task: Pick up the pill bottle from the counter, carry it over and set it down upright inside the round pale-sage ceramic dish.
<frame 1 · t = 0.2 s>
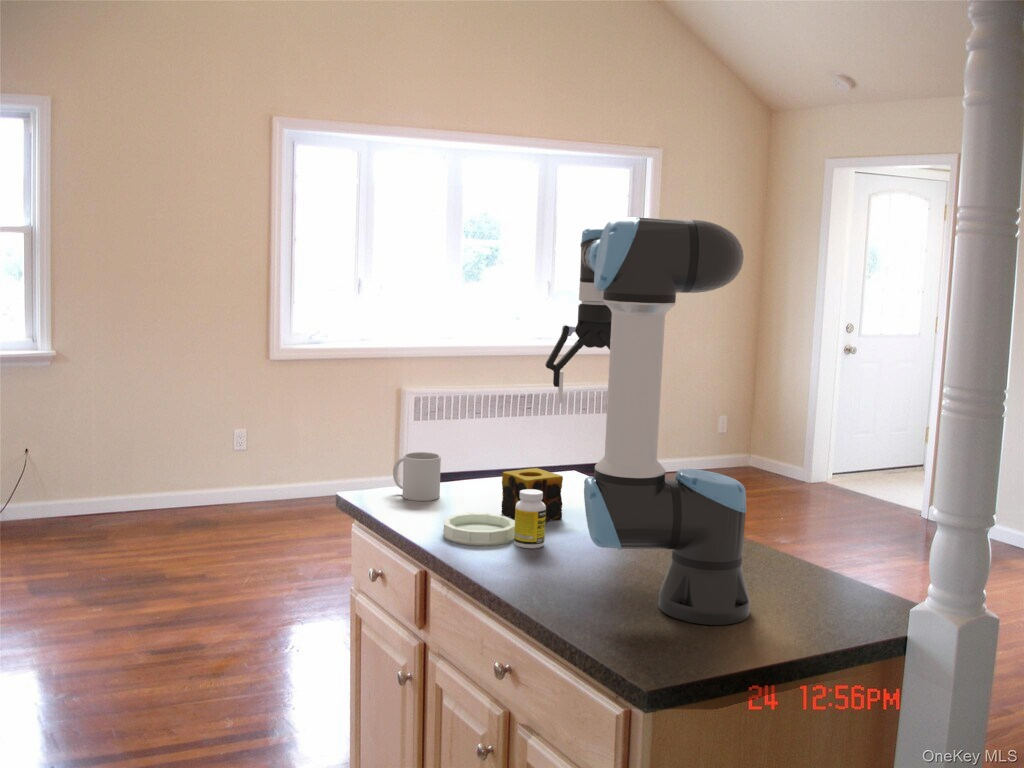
hand: (591, 403, 214), 27 cm above the worktop, fingers open, 13 cm apart
sage dish: (479, 535, 209), on the worktop
mug: (418, 496, 241), on the worktop
pill bottle: (529, 545, 204), on the worktop
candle: (531, 518, 226), on the worktop
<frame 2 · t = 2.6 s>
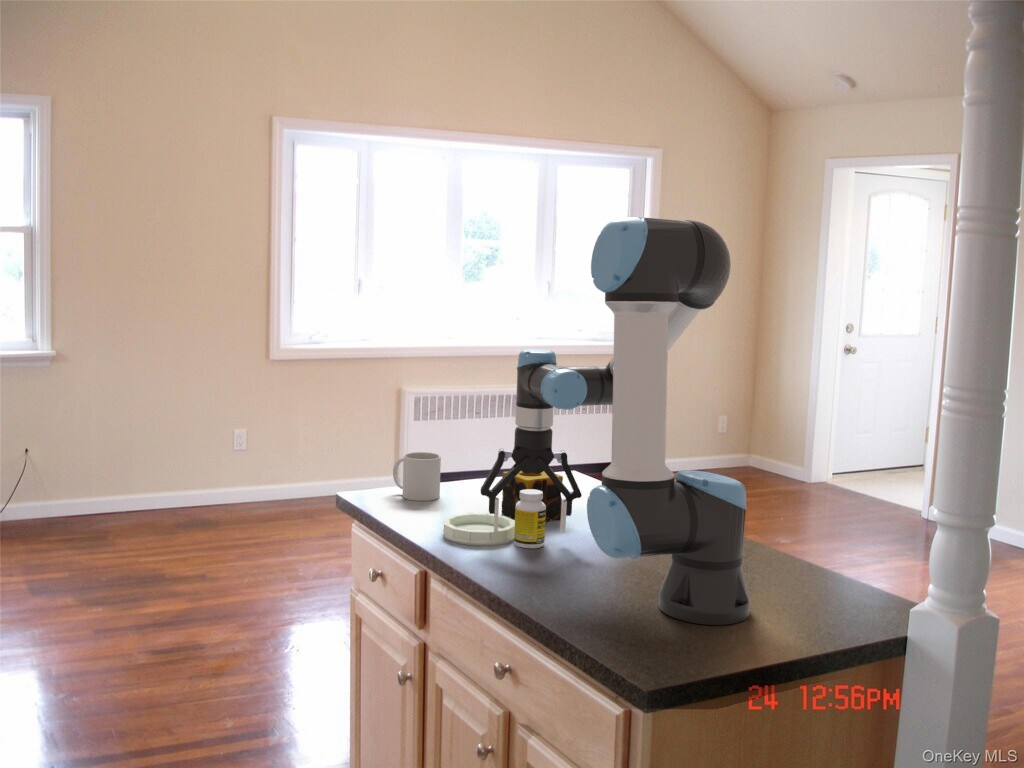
hand: (529, 530, 204), 3 cm above the worktop, fingers open, 13 cm apart
nothing on the worktop moved.
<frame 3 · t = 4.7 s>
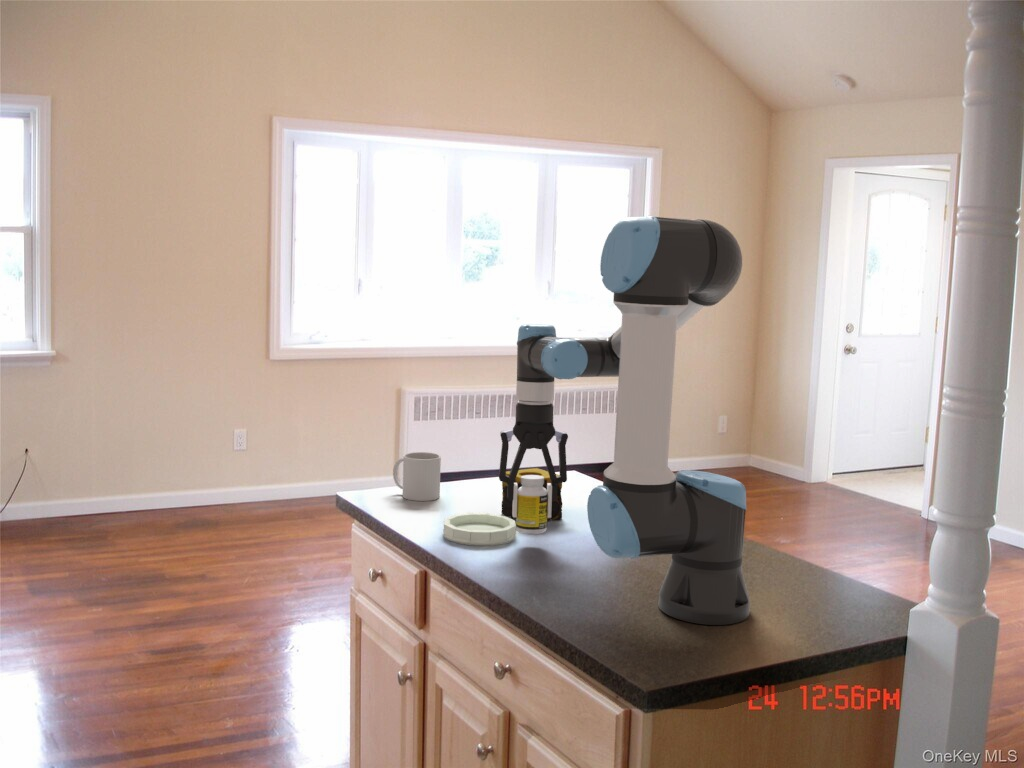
hand: (531, 515, 202), 6 cm above the worktop, fingers closed on pill bottle, 6 cm apart
pill bottle: (531, 531, 203), point 3 cm above the worktop, touching gripper
everything else where it was.
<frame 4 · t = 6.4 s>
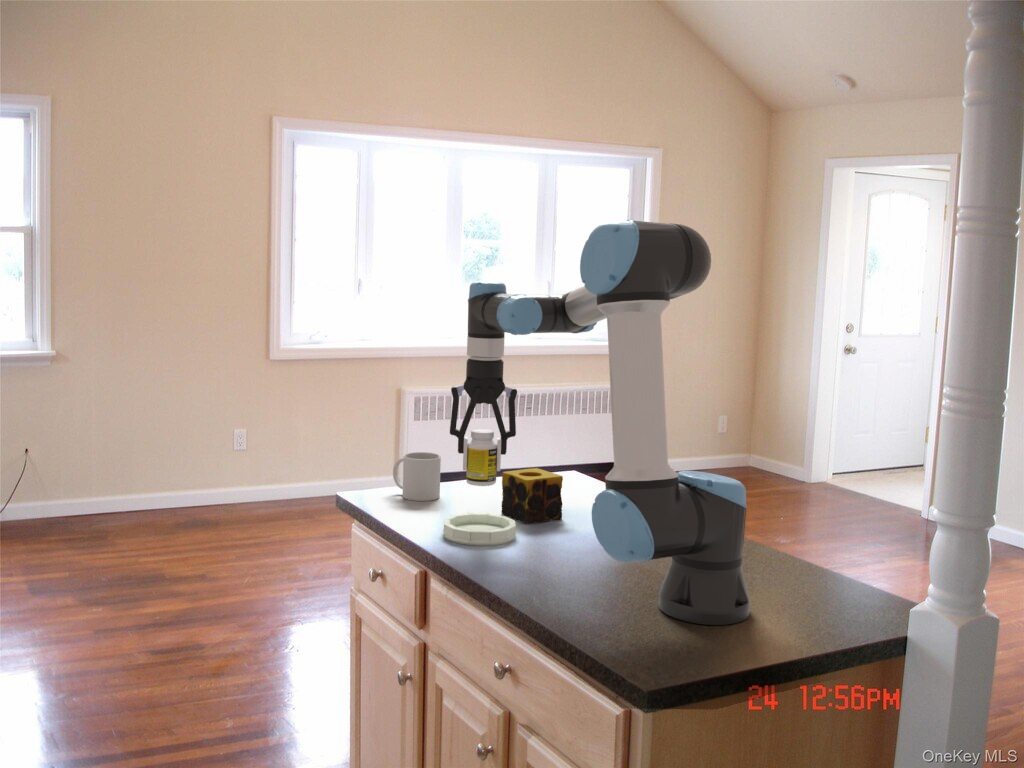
hand: (481, 469, 207), 14 cm above the worktop, fingers closed on pill bottle, 6 cm apart
pill bottle: (481, 484, 208), point 11 cm above the worktop, touching gripper
everything else where it was.
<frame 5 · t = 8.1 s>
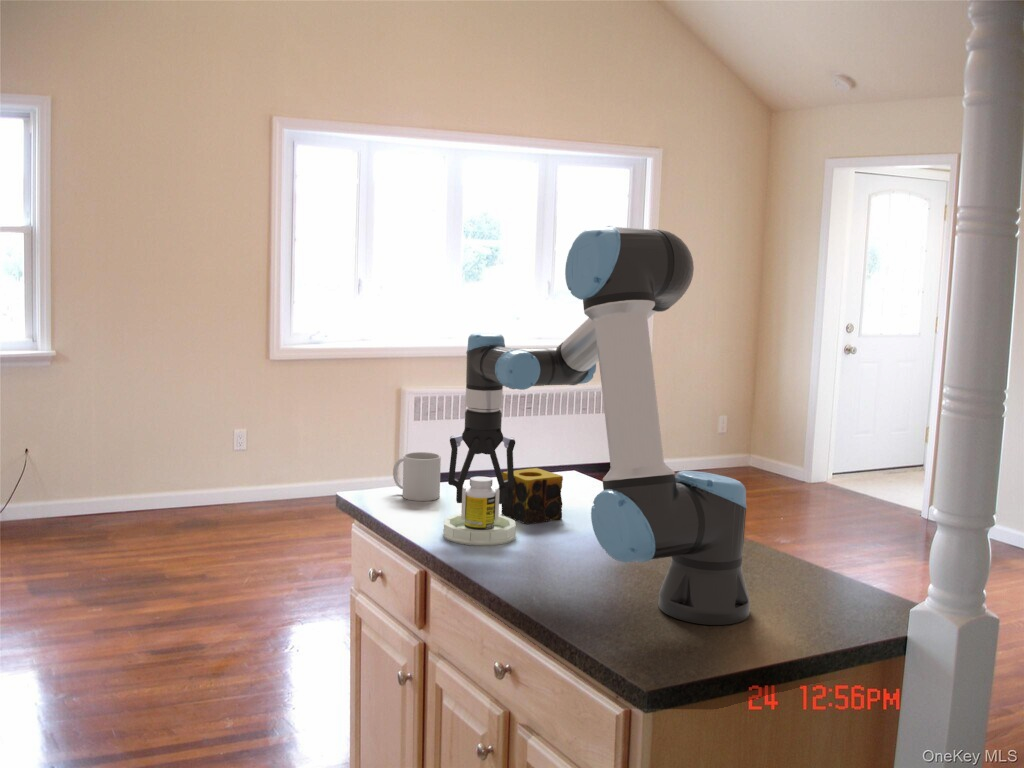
hand: (479, 518, 209), 4 cm above the worktop, fingers closed on pill bottle, 6 cm apart
pill bottle: (479, 531, 209), point 1 cm above the worktop, touching gripper, sage dish
everything else where it was.
when the fingers open (3 cm above the worktop, at t = 9.1 s): pill bottle stays where it is, resting on sage dish.
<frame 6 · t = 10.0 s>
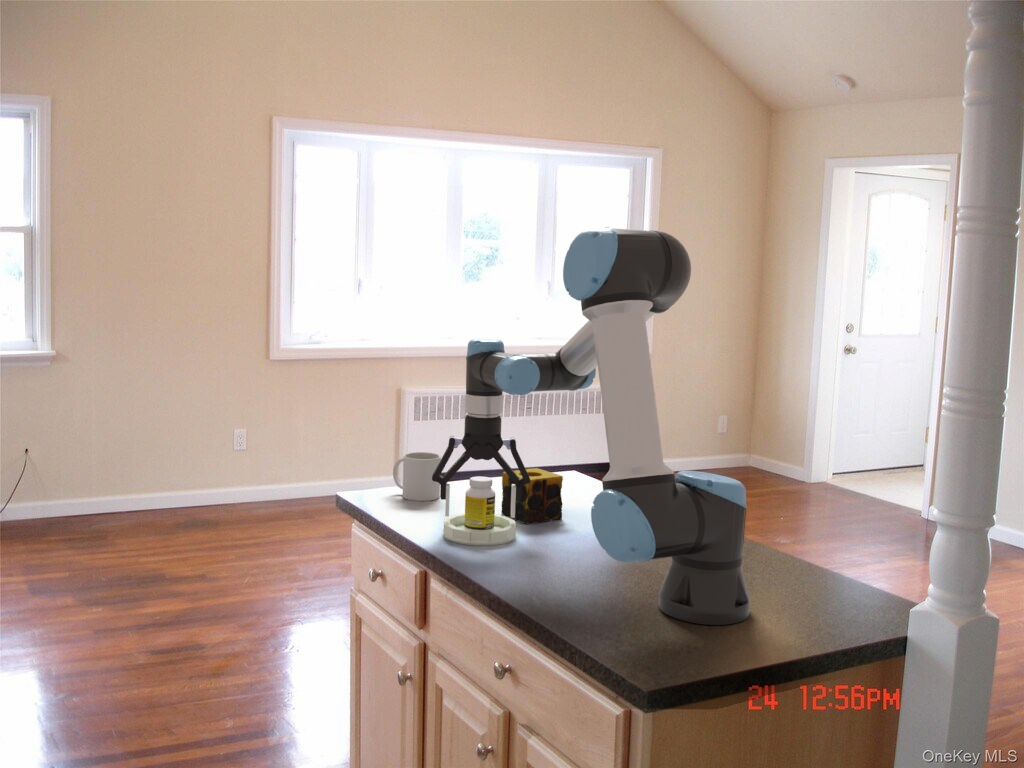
hand: (479, 515, 209), 4 cm above the worktop, fingers open, 13 cm apart
pill bottle: (479, 531, 209), point 1 cm above the worktop, touching sage dish
everything else where it was.
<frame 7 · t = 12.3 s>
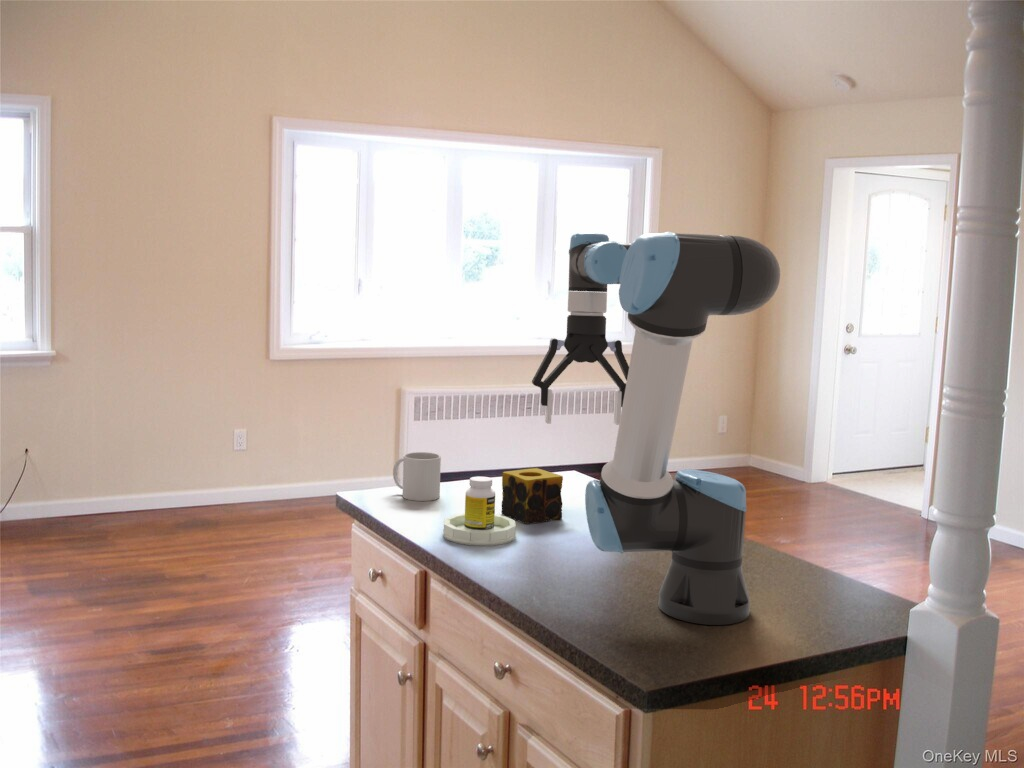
hand: (582, 423, 196), 26 cm above the worktop, fingers open, 13 cm apart
nothing on the worktop moved.
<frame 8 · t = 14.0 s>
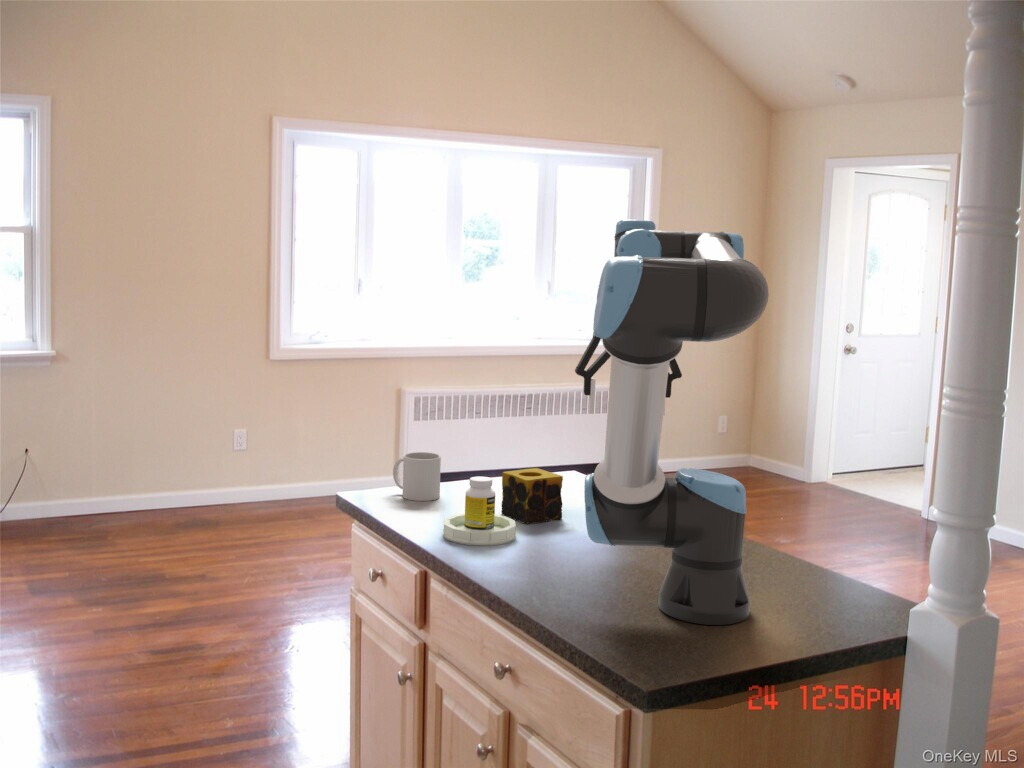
hand: (626, 413, 193), 29 cm above the worktop, fingers open, 13 cm apart
nothing on the worktop moved.
at the end: pill bottle 0.1 cm from the sage dish (horizontally); pill bottle tilted 0°; pill bottle touching sage dish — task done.
